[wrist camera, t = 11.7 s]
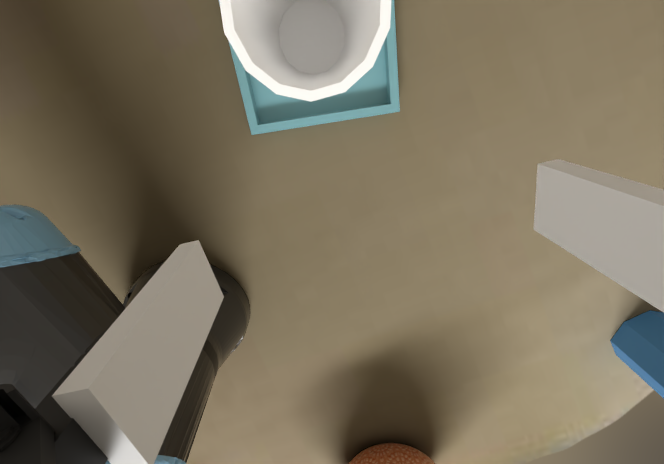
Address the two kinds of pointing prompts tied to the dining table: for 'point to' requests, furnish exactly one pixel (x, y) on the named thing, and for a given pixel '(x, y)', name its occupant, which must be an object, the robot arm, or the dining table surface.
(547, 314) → the dining table surface
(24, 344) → the robot arm
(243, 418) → the dining table surface
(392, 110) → the tray
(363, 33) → the foam cup
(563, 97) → the dining table surface
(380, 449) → the planter
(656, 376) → the water bottle
